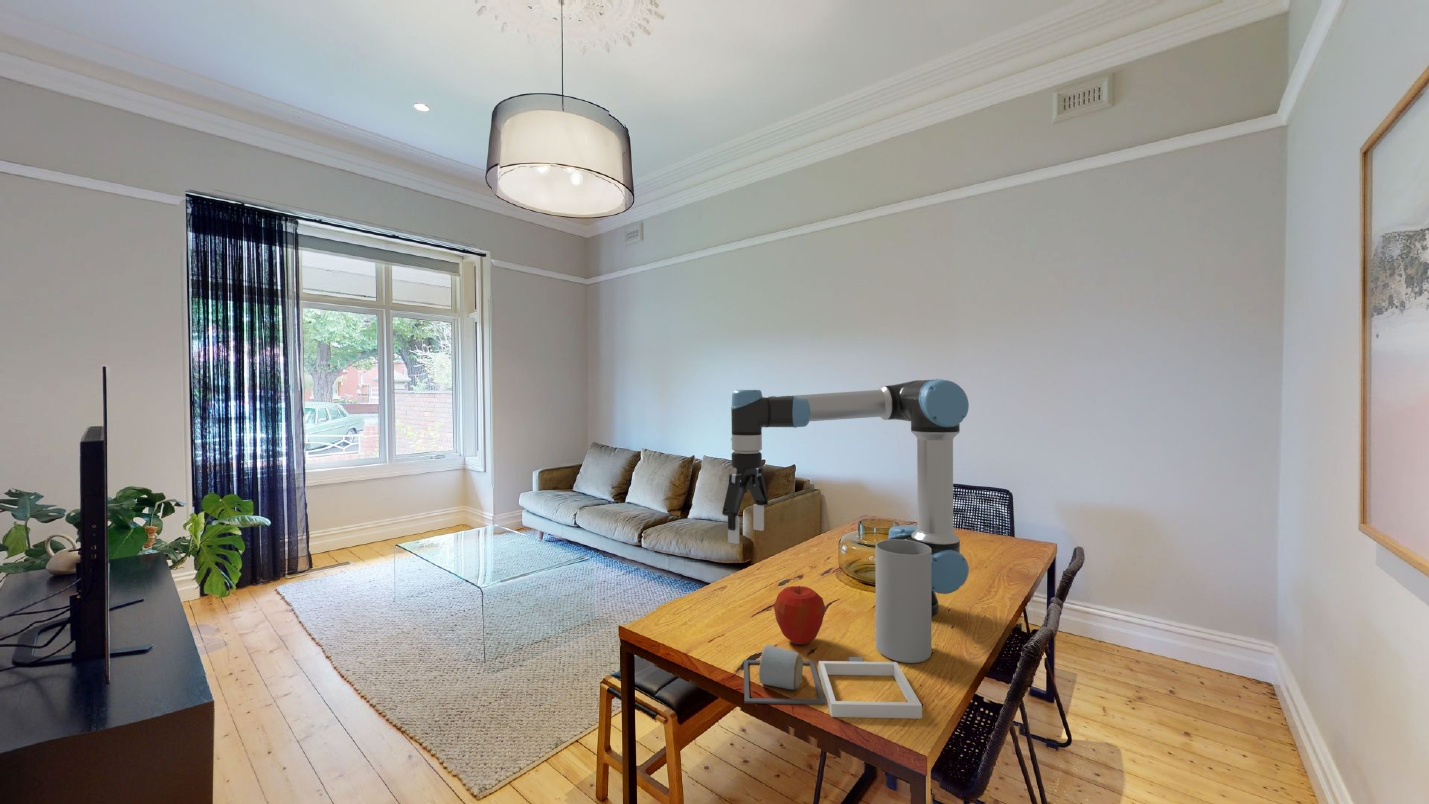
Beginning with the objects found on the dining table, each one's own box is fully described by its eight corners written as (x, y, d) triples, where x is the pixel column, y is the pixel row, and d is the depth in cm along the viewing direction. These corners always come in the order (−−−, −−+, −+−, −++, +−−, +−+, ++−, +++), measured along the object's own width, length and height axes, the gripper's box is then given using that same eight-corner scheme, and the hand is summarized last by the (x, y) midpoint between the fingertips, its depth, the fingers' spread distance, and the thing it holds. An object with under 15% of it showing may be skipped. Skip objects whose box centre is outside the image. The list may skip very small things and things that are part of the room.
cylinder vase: (869, 638, 132) (869, 539, 132) (920, 639, 132) (920, 539, 131) (884, 664, 120) (884, 555, 119) (939, 665, 119) (940, 555, 119)
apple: (765, 644, 130) (765, 587, 130) (789, 626, 139) (789, 573, 139) (811, 659, 122) (810, 599, 122) (833, 639, 132) (833, 583, 132)
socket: (893, 668, 118) (893, 657, 118) (922, 718, 100) (922, 705, 100) (817, 667, 119) (817, 656, 119) (831, 717, 101) (831, 704, 101)
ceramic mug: (797, 698, 107) (797, 660, 107) (758, 690, 110) (758, 653, 110) (806, 672, 117) (806, 638, 117) (770, 666, 120) (770, 632, 120)
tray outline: (813, 662, 121) (813, 661, 121) (825, 704, 105) (825, 702, 105) (743, 661, 121) (743, 660, 121) (744, 703, 106) (744, 701, 106)
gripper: (755, 446, 144) (755, 523, 145) (707, 455, 123) (707, 546, 123) (780, 447, 141) (780, 526, 141) (735, 457, 119) (736, 551, 120)
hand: (746, 536), depth 132 cm, fingers open, 13 cm apart
